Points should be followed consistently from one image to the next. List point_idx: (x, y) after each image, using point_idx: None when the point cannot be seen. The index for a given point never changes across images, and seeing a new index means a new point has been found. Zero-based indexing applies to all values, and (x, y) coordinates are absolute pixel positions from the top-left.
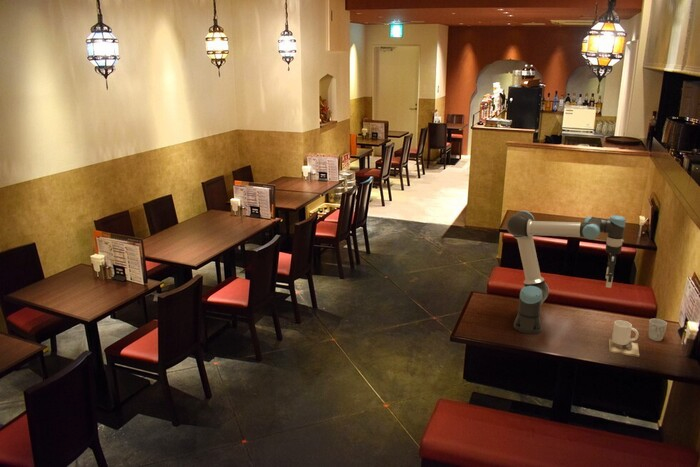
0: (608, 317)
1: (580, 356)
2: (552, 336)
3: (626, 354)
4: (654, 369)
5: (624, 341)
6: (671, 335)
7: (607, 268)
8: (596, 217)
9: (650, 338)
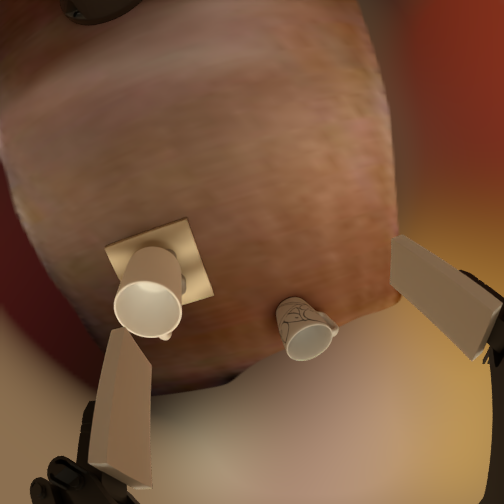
0: (367, 169)
1: (23, 195)
2: (88, 64)
3: None
4: None
5: (133, 293)
6: None
7: (480, 306)
8: None
9: (280, 303)
